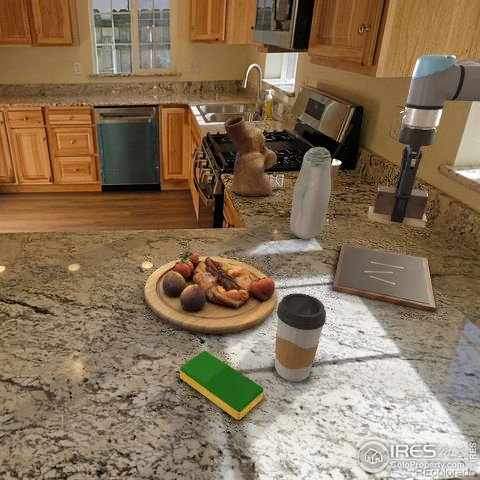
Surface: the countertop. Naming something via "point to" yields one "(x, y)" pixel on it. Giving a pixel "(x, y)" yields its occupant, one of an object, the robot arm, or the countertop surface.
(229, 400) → the dish sponge
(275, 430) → the countertop surface
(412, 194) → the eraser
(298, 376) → the coffee cup
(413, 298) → the chalkboard
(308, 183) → the glass bottle
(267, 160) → the ceramic vessel
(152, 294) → the wooden plate
